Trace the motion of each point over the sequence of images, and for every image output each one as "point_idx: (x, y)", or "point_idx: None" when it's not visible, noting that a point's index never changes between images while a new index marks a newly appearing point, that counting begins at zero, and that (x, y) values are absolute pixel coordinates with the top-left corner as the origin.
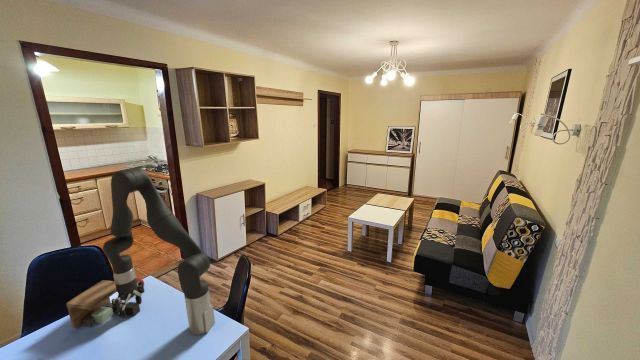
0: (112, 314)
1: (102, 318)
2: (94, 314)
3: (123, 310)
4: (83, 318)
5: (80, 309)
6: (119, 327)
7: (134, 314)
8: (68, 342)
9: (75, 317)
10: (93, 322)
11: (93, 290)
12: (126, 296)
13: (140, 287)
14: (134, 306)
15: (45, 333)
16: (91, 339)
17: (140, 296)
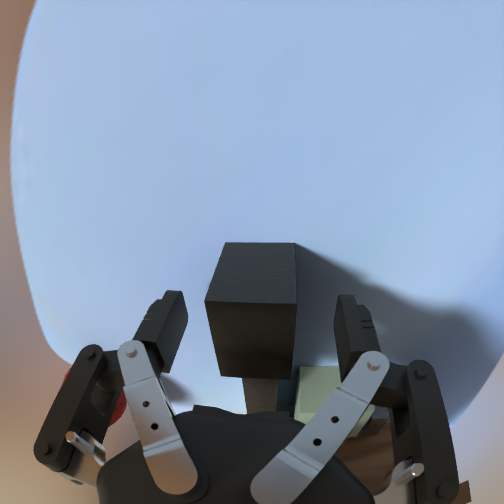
0: (305, 374)
1: None
2: (357, 431)
3: (366, 349)
4: (368, 435)
5: (361, 478)
6: (411, 259)
7: (288, 250)
8: (456, 378)
9: (385, 456)
10: None
11: None
12: (308, 487)
13: (82, 416)
14: (266, 303)
15: None
16: (470, 324)
17: (137, 340)
